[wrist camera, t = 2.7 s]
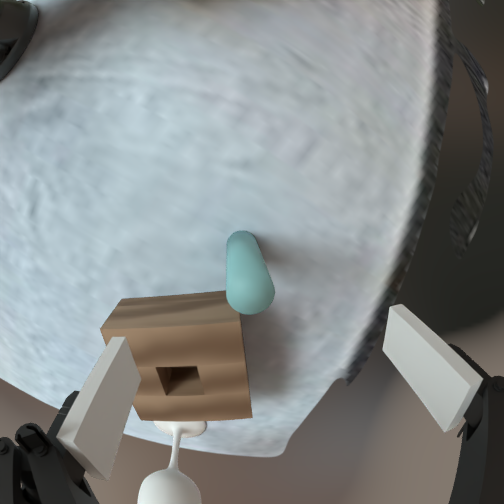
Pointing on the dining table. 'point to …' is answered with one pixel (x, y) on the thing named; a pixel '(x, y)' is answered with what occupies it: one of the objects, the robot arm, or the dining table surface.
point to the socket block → (185, 356)
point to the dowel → (247, 275)
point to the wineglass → (172, 470)
